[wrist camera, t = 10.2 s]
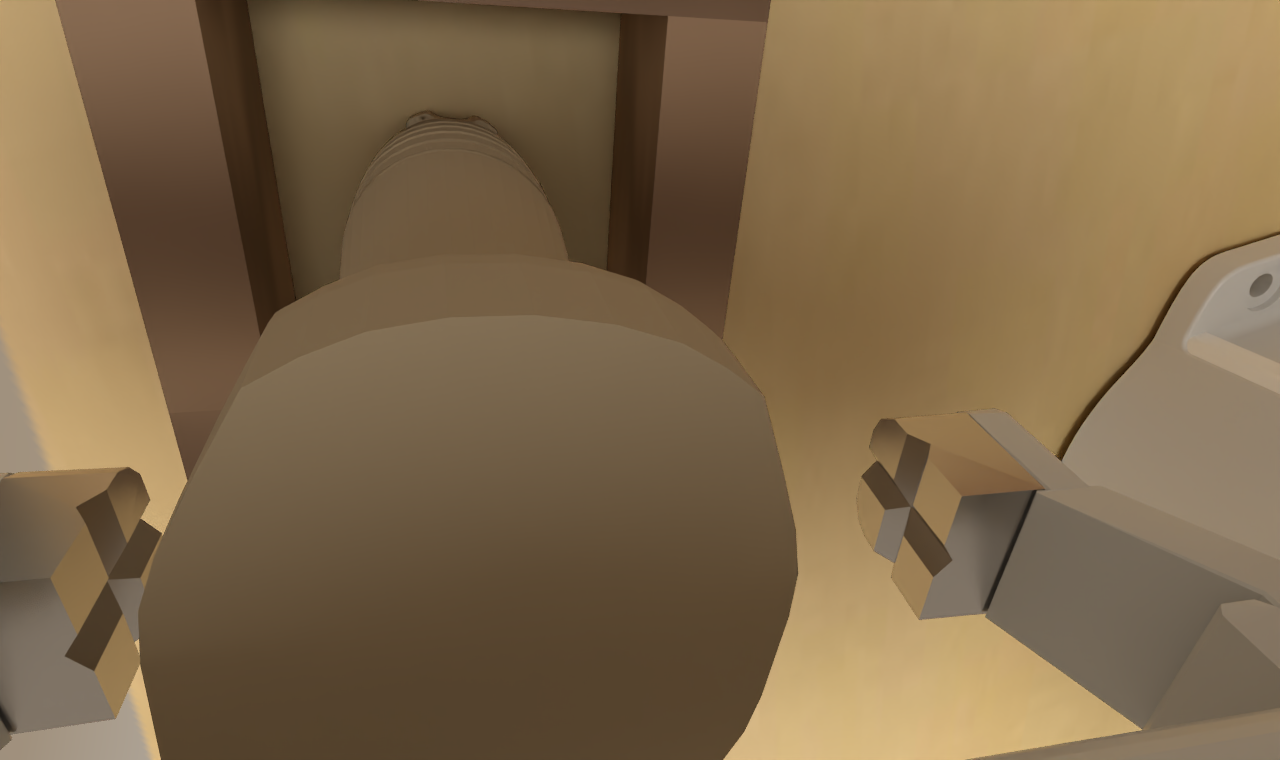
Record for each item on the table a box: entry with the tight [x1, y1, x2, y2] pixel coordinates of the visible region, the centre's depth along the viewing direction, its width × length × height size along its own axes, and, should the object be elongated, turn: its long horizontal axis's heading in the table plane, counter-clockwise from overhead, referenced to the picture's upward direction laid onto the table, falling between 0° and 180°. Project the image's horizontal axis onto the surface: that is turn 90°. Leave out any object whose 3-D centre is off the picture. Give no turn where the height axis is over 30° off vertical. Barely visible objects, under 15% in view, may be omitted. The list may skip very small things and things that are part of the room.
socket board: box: [55, 0, 771, 480], centre depth 17 cm, size 12×12×4 cm
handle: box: [138, 111, 798, 760], centre depth 12 cm, size 5×6×15 cm
